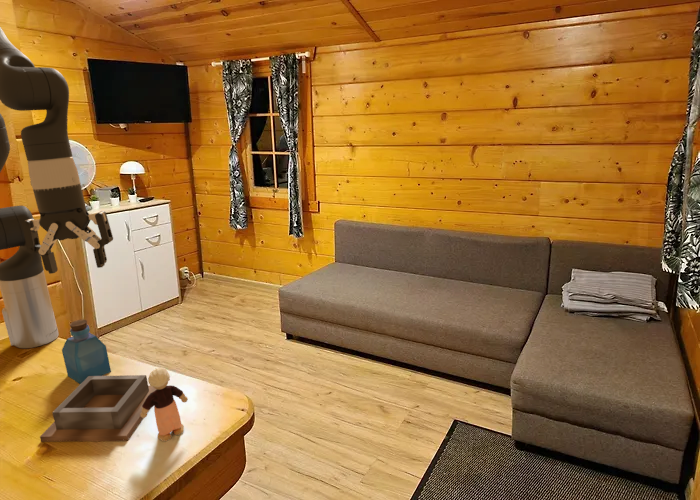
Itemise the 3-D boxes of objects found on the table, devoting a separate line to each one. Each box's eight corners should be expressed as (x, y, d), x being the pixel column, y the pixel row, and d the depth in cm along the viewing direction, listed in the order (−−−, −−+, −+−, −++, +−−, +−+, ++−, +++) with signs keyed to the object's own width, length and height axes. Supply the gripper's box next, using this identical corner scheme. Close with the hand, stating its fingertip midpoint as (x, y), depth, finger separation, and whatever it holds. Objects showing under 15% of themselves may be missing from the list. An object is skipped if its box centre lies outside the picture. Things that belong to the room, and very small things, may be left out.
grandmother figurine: (182, 418, 87) (172, 356, 83) (194, 427, 84) (184, 363, 81) (141, 442, 81) (128, 376, 77) (153, 451, 79) (141, 384, 75)
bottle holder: (41, 441, 82) (35, 419, 81) (88, 390, 96) (84, 371, 95) (127, 440, 81) (122, 418, 80) (162, 389, 96) (159, 370, 94)
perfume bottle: (81, 385, 98) (69, 332, 95) (67, 376, 102) (55, 324, 99) (111, 371, 103) (100, 320, 100) (96, 363, 107) (86, 314, 103)
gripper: (104, 178, 91) (122, 259, 95) (24, 185, 89) (46, 268, 94) (90, 182, 84) (110, 270, 88) (3, 191, 82) (27, 280, 86)
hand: (77, 269), depth 91 cm, fingers open, 8 cm apart
